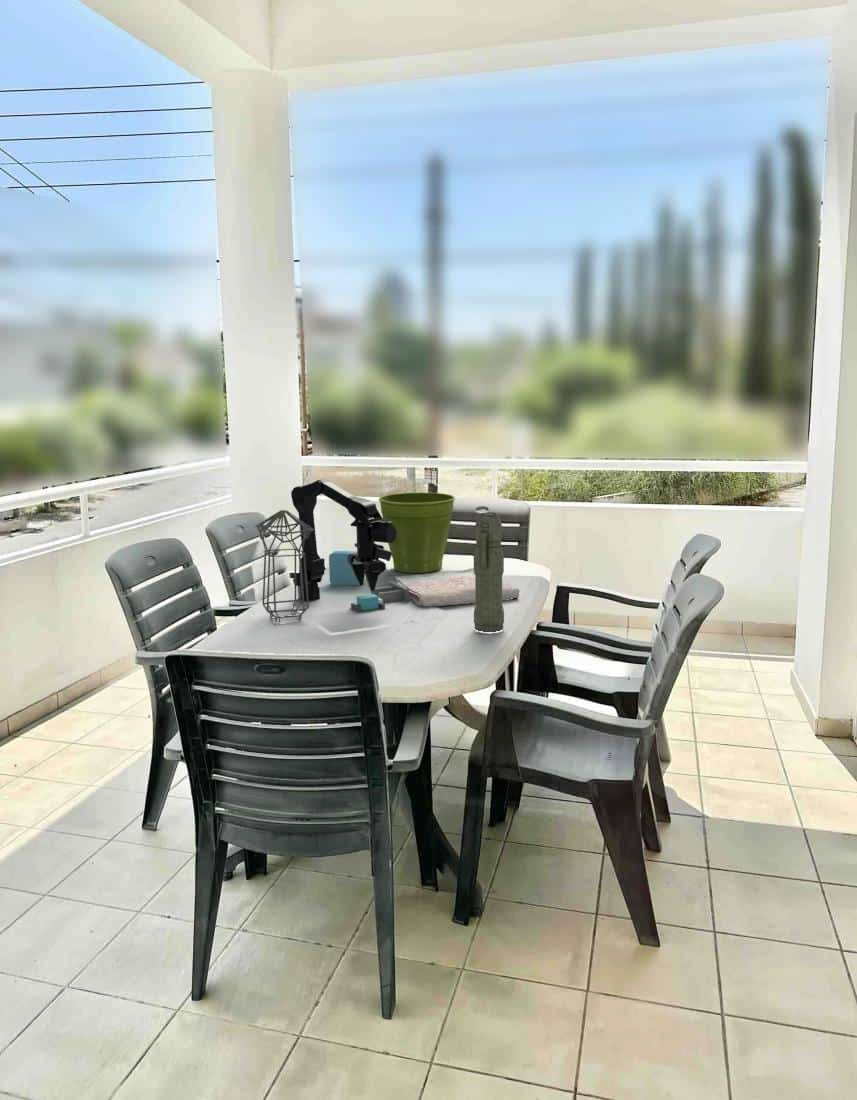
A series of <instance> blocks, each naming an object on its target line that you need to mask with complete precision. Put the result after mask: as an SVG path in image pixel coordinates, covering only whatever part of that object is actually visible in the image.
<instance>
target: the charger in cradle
mask: <svg viewBox="0 0 857 1100" xmlns="http://www.w3.org/2000/svg"><path fill="white" fill-rule="evenodd" d="M350 608H351V609H352V610H354V611H356V612H357V613H367V612H375V611H380V610H385V609H386V604H385V603H384V602H383V603H380V604H379V608H378V609H372V610H365V611H362V608H361V607H360V606H358V605H357V603H355V602H351V603H350Z"/></svg>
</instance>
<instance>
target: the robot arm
mask: <svg viewBox="0 0 857 1100" xmlns="http://www.w3.org/2000/svg"><path fill="white" fill-rule="evenodd" d="M320 495H323V496H325V497H327V498H328V499H330V500H331V501H334V502H335V503H336V504H339V505H340V506H342V507H344V508H345V509H346V510H347V512H348V514H349V515H351V516H352V518H354V521H353V522H351V523H350V526H351V527H356V529H355V531H356V542H355V543H354V547H355V548H356V551H357V553H350V554H349V555H348V556H347V559H348V562H349V563H350V564H349V565H350V566H351V568H352V570H353V572H354V574H355V576H356V578H357V580H358V582H359V584H360V585H359V586H363V585H364V584H365V578H366V581H367V585H368V587H369V590H370V592H371V591H374V590H375V588H376V585H377V582H378V578H379V577H380V575H381V574H382V573H384V572H385V571H386V570H387V564H386V563H385V562H384V561H383V560H385V561H386V562H390V561H391V558H392V552H391V551H390V550H388V549H386V548H385V547H384V546H383V545H382V544H377V543H384V544H388V543H393V542H394V541H395V539H396V535H397V531H396V529H395V527H394V526H393V525H392V522H391V521H388V522H385V521H384V520H383V516H382V515H381V512H380V511H379V510H378V508H377V505H376V503H375V502H374V501H373V500H370V499H367V498H362V497H359V496H358V497H357V496H355V495H353V494H352V493H350V492H349V491H348V492H347V491H346V490H345V489H343V488H341V487H339V486H337V485H336V484H334V483H332V482H331V480H329V479H326V478H322V479H318V480H316V481H313V482H311V483H308V484H305V485H298V486H295V487H293V489H292V490H291V493H290V496H291V500H292V505H293V506H294V509H295V510H296V512H297V513H298V519H300V520H301V521H302V522H304V523H305V524H307V525H308V526H309V527H311V528H312V529H314V530H313V531H312V532H311V533H310V535H309V536H308V539H305V542H304V541H303V543H304V550H303V544H302V546H301V551H302V550H303V552H304V553H305V561H306V574H307V587H308V600H309V602H314V601H317V600H320V599H321V593H320V589H321V588H320V587H319V583H321V582H322V579H323V577H324V575H325V571H326V570H327V569H326V566H325V557H322V558H321V557H320V555H319V554H318V548H317V547H318V545H317V536H316V535H317V534H316V526H315V524H316V523H315V516H314V511H315V507H316V505H317V502H318V497H319V496H320ZM301 521H300V522H301ZM304 523H303V524H304ZM305 524H304V525H305ZM305 526H306V525H305ZM308 526H306V527H307V528H309V527H308ZM301 530H303V528H302V526H300V525H299V531H301ZM309 532H310V531H308V533H309ZM302 533H303V532H300V533H299V534H302ZM305 535H306V533H305ZM303 537H304V534H303V535H302V536H300V541H301V542H302V540H303ZM301 565H302V578H303V591H304V602H307V597H306V584H305V571H304V558H303V555H302V556H301ZM292 582H293V585H294V586H295V577H294V578H293V579H292ZM296 587H297V597H298V598H296V600H300V601H302V595H301V581H300V567H298V573H296Z"/></svg>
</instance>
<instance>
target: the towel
mask: <svg viewBox="0 0 857 1100" xmlns="http://www.w3.org/2000/svg"><path fill="white" fill-rule="evenodd" d="M394 578H395V581H394V582H395V583H397V584H399V585H401V586H403V587H405V588H407V589H409V600H411V601H413V602H414V603H415V604H416V605H417V606H420V607H447V606H446V605H450V606H460V605H459V604H464V605H470V604H469V603H473V604H476V602H475V574H474V567H471V568H467V569H461V570H444V571H436V572H430V573H422V574H414V575H403V576H395V577H394ZM511 598H518V599H519V598H520V589H519V588H518V587H515V585H513V584H510V583H508V582H506V581H504V580H502V599H509V600H512V599H511Z"/></svg>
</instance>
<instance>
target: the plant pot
mask: <svg viewBox="0 0 857 1100" xmlns="http://www.w3.org/2000/svg"><path fill="white" fill-rule="evenodd" d="M455 499H456V496H454V495H452V494H450V493H440V492H401V493H392V494H385V495H382V496H379V497H378V501H379V503H380V514H382V515H381V516H382V518H383V520H384V521H385V522H388V521H391V522H392V525H393V526H394V527H395V529H396V531H397V535H396V539H395V541H394V542H393V543H387V544H388V548H389V551H390V552H392V555H391V558H392V561H393V569H394V570H396V571H398V572H401V573H406V574H407V573H408V574H428V573H434V572H438V571H439V570H441V569H442V568H443V558H444V555H445V552H446V551H445V550H446V547H447V545H448V544H447V542H448V538H449V535H450V534H449V533H450V529H451V523H452V522H451V521H452V514H453V512H454V501H455Z"/></svg>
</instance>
